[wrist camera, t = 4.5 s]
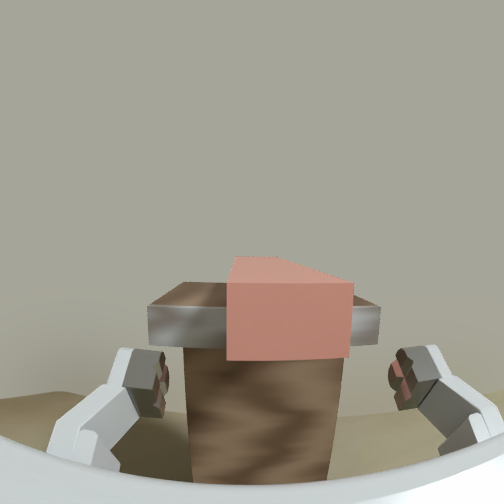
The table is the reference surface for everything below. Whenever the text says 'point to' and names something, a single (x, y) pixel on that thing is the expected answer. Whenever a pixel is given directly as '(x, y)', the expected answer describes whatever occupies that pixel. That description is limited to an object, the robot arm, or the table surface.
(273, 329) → the salmon pink flat bar
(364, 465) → the table surface
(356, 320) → the brown pedestal
